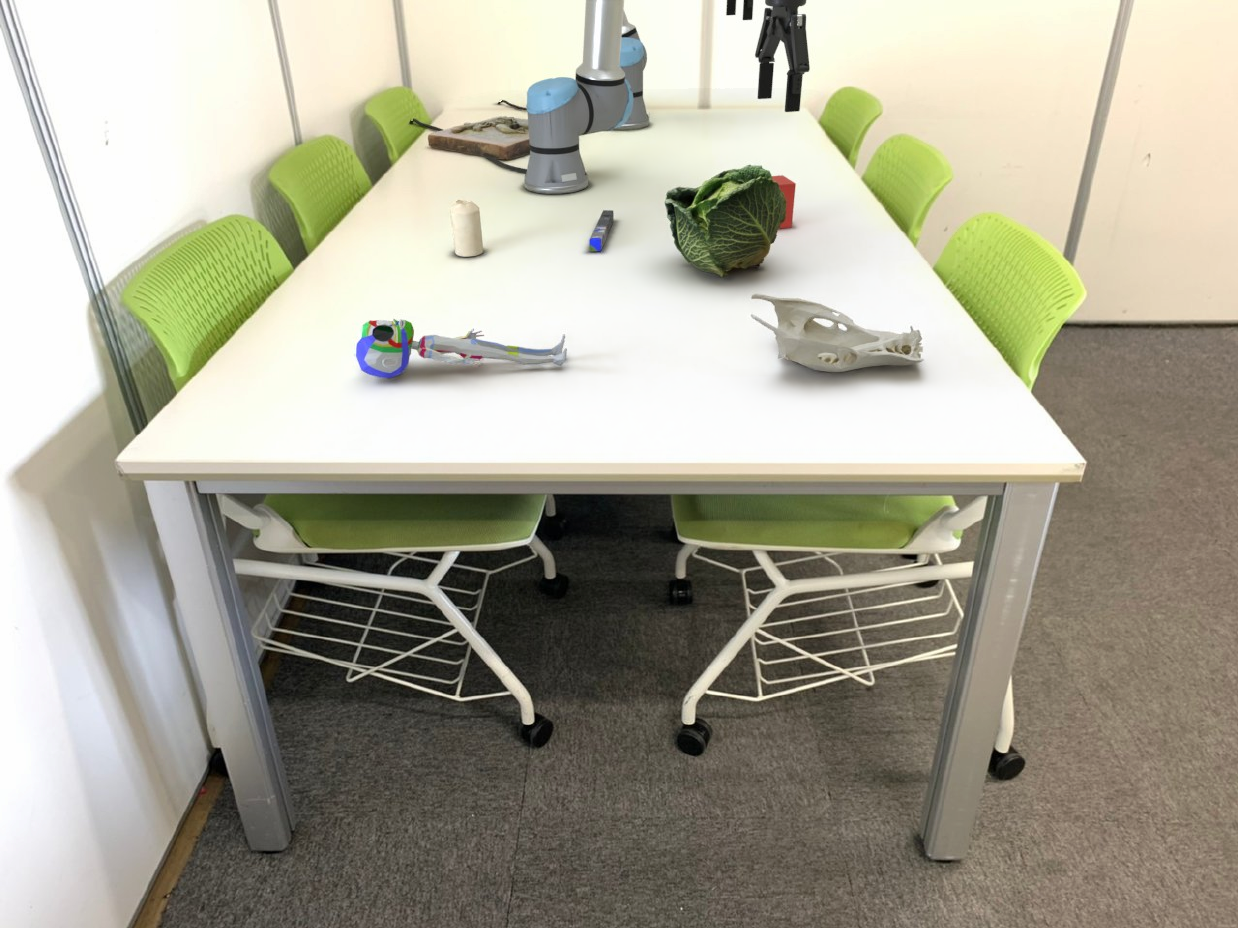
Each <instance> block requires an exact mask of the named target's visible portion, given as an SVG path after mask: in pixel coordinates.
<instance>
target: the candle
mask: <svg viewBox="0 0 1238 928" xmlns="http://www.w3.org/2000/svg"><path fill="white" fill-rule="evenodd" d="M449 212H450V213H449V214H450V222H451V228H452V231H451V232H452V239H453V247H454V253H455V255H457V256H459V257H465V258H466V257H467V258H468V257H475V256H479V255H481V254H483V252H484V242H483V234H482V233H483V232H482V231H483V230H482V222H481V221H482V220H481V212H480V207H479V205H478V204H476V203H475V202H474V201H472V200H470V201H468V200H465V199H464V200H462V199H457V200H456V201H455V202H454V203H453V205H452V206H451V207H450V209H449Z"/></svg>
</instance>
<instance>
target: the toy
mask: <svg viewBox="0 0 1238 928" xmlns="http://www.w3.org/2000/svg"><path fill="white" fill-rule="evenodd" d="M474 331H475V328H472V329H471V330H469V331H468V332H467V333H466V334H465V335H463V336H458V337H449V336H448V337H447V336H442V335H439V334H428V335H423V336H421V338H420V339H419V341H417V340H414V336H415V329H414V326H413V324H412V322H410V321H408V320H407V319H399V320H397V319H395V318H392V320H387V319H379V320H368V321H367V322H365V323H364V324H362V326H361V329H360V331H359V333H358V334H357V338H356V340H355V342H354V354H353V355H354V357H355V359H356V362H357V364H358V366H359V369H360V370H361V372H364V373H366V374H367V375H370V376H373V377H377V378H382V379H383V378H384V379H392V378H394V377H396V376H398V375H400V374H401V375H402V374H403V372H404V371H405V370H406V368H407V367H408V366H409V364H410V357H411V355H412V350H415V351H417V353H418V356H419V357H421V358H422V359H430V360H434V361H438V362H442V363H444V364H449V365H458V364H459V365H461V364H465V365H471V366H477V367H479V368H480V367H481V366H482V365H483V363H482V362H478V361H480V360H482V359H487V360H488V359H489V360H503V361H509V362H514V363H517V364H520V365H528V366H529V365H542V364H550V363H553V364H555V365H557V366H559V367H562V366H563V364H564V362H565V361H566V360H567V357H568V355H567V353H568V348H566V347H565V348H564V345H565V340H566V334H565V333H563V334H562V338H561V340H560V341H559V343H558V344H556V345H555V346H554V347H552V348H533V347H532V348H531V347H523V346H518V345H517V346H516V345H504V344H501V343H498V342H494V341H488V340H482V339H478V338H479V337H480V338H481V337H485V334H480V333H482V332H483V331H482V330H479V331H476V332H474ZM563 349H564V350H563ZM453 353H455V354H457V355H459V357H458V356H455V355H448V354H453ZM445 354H447V355H445Z"/></svg>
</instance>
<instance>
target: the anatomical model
mask: <svg viewBox="0 0 1238 928" xmlns="http://www.w3.org/2000/svg"><path fill="white" fill-rule="evenodd" d="M750 298H751V300H762V301H766V302H770V303H771V305H773V307H774V313H775V314H776V318H777V327H776V326H774V325H772V324H770V323H768V322H767V321H765V320H763V319H762V318H761V317H758V316H757V315H755V314H753V313H751V314H750V317H751V319H753V320H755V321H756V322H758V323H760V324H761V325H762V326H764V327H766V328H767V329H769V330H770V331H772V332H773V334H774V336H775V337H774V338H775V341H776V344H777V351H778V353H777V358H778V359H782V360H788V361H792V362H794V363H798V364H800V365H802V366H803V367H805V368H808V369H811V370H812V371H821V372H828V373H844V372H849V371H853V370H857V369H862V368H868V367H877V366H878V367H880V366H912V365H915V364H919V363H922V362H924V361H925V359H924V358H921V357H922V356H921V353H923V351H924V346H921V345H922V343H921V341H922V340H923V337H922V334H921V331H920V330H919V329H916V330H914V327H913V325H910V327H909V329H910V332H902V333H896V332H893V331H884V330H876V329H870V328H864V327H862V326H860V325H858V324H855V322H854V320H853V319H852V318H850V317H849V316H848V315H846V314H844V313H843V312H841V311H838V310H836V309H833V308H831V307H829V306H826V305H824V304H822V303H820V302H819V303H818V302H816V301H815V302H814V301H811V300H806V299H802V298H799V297H777V296H771V295H766V294H761V293H753V294H752V295H751V297H750ZM836 314H838V315H836ZM815 319H819V320H820V319H821V320H822V319H823V320H826V321H830V322H831V323H832V325H830V326H825V325H823V324H820V323H819V322H817V321H815ZM839 325H843V326H844V327H845V328H846V330H844V329H842V328H840V327H839Z"/></svg>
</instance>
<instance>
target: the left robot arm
mask: <svg viewBox="0 0 1238 928" xmlns="http://www.w3.org/2000/svg"><path fill="white" fill-rule="evenodd" d="M764 3H765V4H764V5H766V6H767V7H764V10H763V11H764V12H763V19H762V20H763V21H762V23H761V28H760V33H759V36H758V40H757V44H756V49H755V52H754V57H755V59H757V61H758V63H759V68H758V86H757V100H767V99H772V96H773V83H774V82H773V81H774V68H775V66H774V65H775V62H776V58H775V55H776V52H777V50H778V47H779V46H780V42H782V43H783V45H784V50H785V54H786V55H785V56H786V59H787V64H788V70H787V73H786V87H785V88H786V89H785V100H784V101H785V102H784V113H795V112H800V109H801V99H802V87H803V76H804V75H805V73H809V72H810V69H811V68H810V67H811V66H810V58H809V57H810V56H809V48H808V47H809V46H808V38H807V37H808V36H807V14H805V13H799V8H800V7H804V6H805V5H806V4H807V0H764ZM624 8H625V0H585V10H584V26H583V27H584V28H583V46H582V47H583V49H582V50H583V51H582V62H581V64H580V65H578V66H577V68H576V69H575V76H574V77H575V78H573V77H567V76H559V77H558V76H557V77H554V78H553V77H552V78H545V79H542V80H539V81H536V82H534V83H532V84H531V85H530V86H529V87H528V89H527V91H526V105H525V106H526V107H525V108H526V109H527V111H526V112H527V119H528V127H529V142H530V153H529V157H528V162H527V168H523V167H518V166H515V165H510V164H507V163H505V162H503V161H501V160H500V159H497V158H493V157H492V156H490V155H488V154H486V153H484V154H483V156H482V157H485V158H486V159H488V160H489V161H491V162H493V163H495V164H496V165H498V166H500V167H503V168H505V169H508V170H511V171H515V172H519V173H524V174H525V175H524V180H523V183H524V188H525V189H526V190H527V191H530V192H531V193H535V194H536V193H537V194H543V195H544V194H545V195H562V194H570V193H576V192H579V191H583V190H584V189H586V188H587V187H589V175H588V173H587V171H586V168H585V164H584V161H583V158H582V156H581V153H580V137H582V136H585V135H590V134H596V133H601V132H610V131H613V130H612V129H614V128H617V127H620V126H622V125H623V124H624V123H625V122H626V121H627V120H628V118H629V117H630V114H631V112H632V108H633V92H632V91H630V89H631V86H630V84H629V83H628V81H627V80H626V79H625V72H624V71H623V70H622V69H621V67H620V66H619V63H620V50H621V36H622V23H623V9H624ZM624 10H625V9H624ZM412 118H413V117H412ZM409 123H410V125H412V124H413V123H415V124H417V125H418V126H420V127H424V128H427V129H430V130H434V131H435V132H438V131H442V130H444V129H443V128H440V127H438V126H435V125H431V124H427V123H424V122H421V121H419V120H418V119H416V118H413V121H411V119H410V120H409V122H408V124H409Z"/></svg>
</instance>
